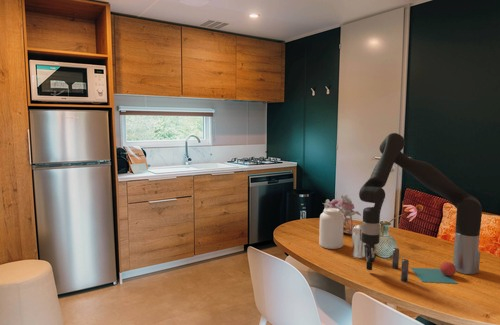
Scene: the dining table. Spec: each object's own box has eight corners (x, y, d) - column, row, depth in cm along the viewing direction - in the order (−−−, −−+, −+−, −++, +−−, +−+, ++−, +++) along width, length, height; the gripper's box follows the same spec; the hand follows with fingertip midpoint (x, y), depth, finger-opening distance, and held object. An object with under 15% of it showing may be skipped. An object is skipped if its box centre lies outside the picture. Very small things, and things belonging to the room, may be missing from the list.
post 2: (406, 279, 150) (407, 259, 149) (408, 282, 148) (409, 261, 147) (400, 279, 150) (401, 258, 149) (402, 282, 148) (403, 261, 147)
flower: (372, 227, 216) (356, 189, 221) (362, 234, 197) (345, 192, 202) (342, 236, 226) (327, 199, 231) (330, 243, 207) (315, 203, 212)
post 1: (397, 266, 163) (398, 247, 162) (399, 269, 161) (400, 250, 159) (391, 266, 163) (392, 247, 162) (393, 268, 161) (394, 249, 160)
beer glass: (356, 259, 172) (357, 229, 170) (348, 254, 178) (349, 225, 176) (368, 258, 173) (370, 228, 172) (360, 252, 180) (361, 224, 178)
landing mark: (443, 269, 160) (443, 268, 160) (457, 283, 146) (457, 283, 146) (410, 268, 162) (410, 267, 162) (422, 282, 148) (422, 281, 148)
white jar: (340, 241, 197) (341, 206, 194) (344, 249, 184) (345, 212, 182) (318, 241, 198) (318, 206, 195) (320, 249, 185) (321, 211, 183)
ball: (454, 265, 156) (444, 256, 156) (461, 271, 150) (451, 262, 150) (444, 275, 157) (434, 266, 157) (451, 281, 151) (441, 272, 151)
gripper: (383, 236, 148) (381, 276, 150) (375, 227, 161) (374, 263, 163) (364, 236, 149) (363, 275, 151) (358, 226, 162) (357, 263, 164)
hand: (369, 269), depth 157 cm, fingers closed
